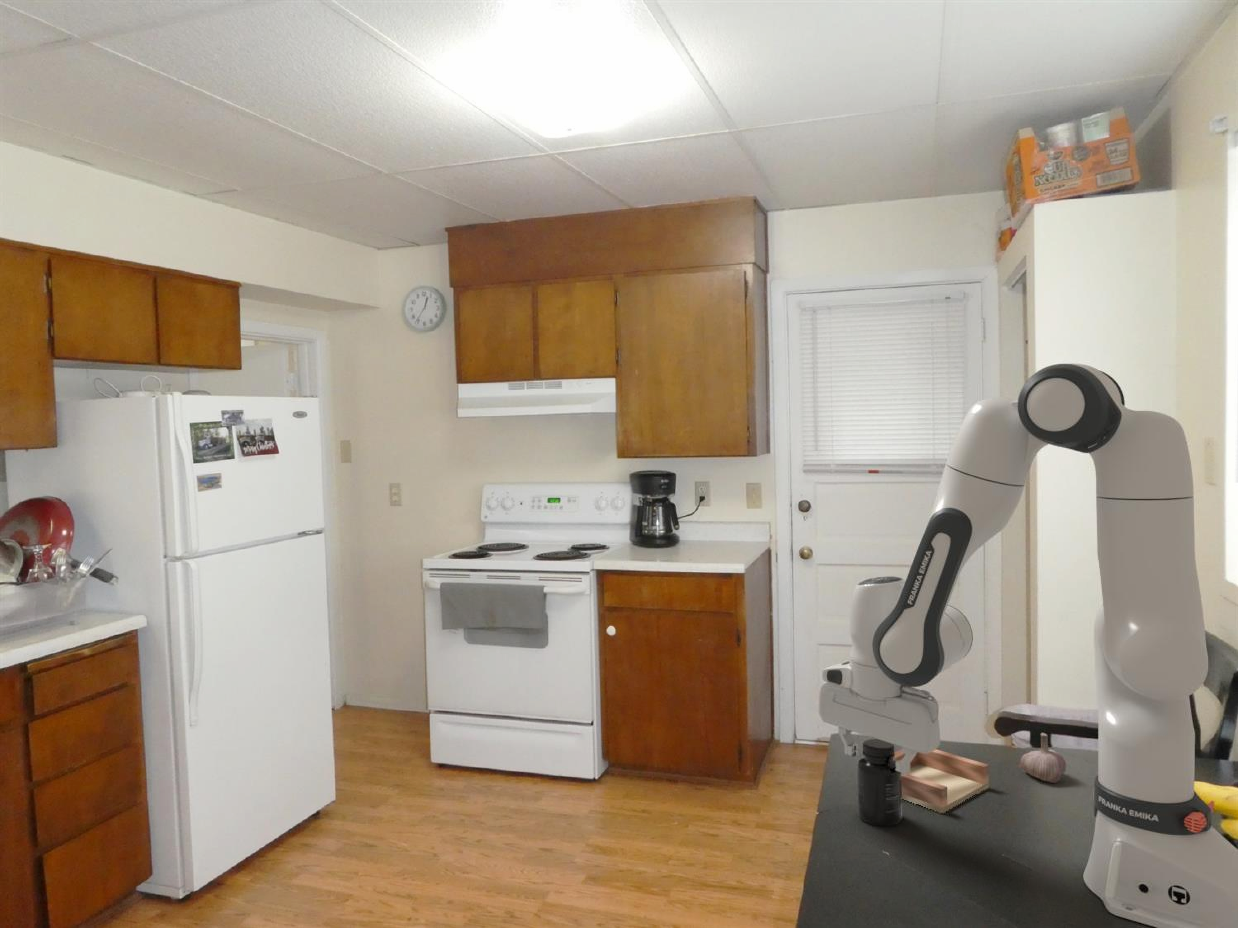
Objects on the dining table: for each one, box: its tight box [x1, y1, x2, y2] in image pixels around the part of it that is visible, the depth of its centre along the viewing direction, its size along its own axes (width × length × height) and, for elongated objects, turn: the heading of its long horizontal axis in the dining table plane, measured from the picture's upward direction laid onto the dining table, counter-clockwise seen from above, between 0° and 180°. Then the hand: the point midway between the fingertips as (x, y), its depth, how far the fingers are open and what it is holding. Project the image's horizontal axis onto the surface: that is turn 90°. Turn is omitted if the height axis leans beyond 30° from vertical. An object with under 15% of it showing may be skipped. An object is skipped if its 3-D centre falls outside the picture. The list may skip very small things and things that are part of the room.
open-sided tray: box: [894, 748, 990, 814], centre depth 153 cm, size 14×15×4 cm
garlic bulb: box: [1019, 732, 1067, 784], centre depth 157 cm, size 8×7×8 cm
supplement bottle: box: [856, 738, 903, 827], centre depth 142 cm, size 7×7×12 cm
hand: (876, 764), depth 142 cm, fingers open, 8 cm apart
